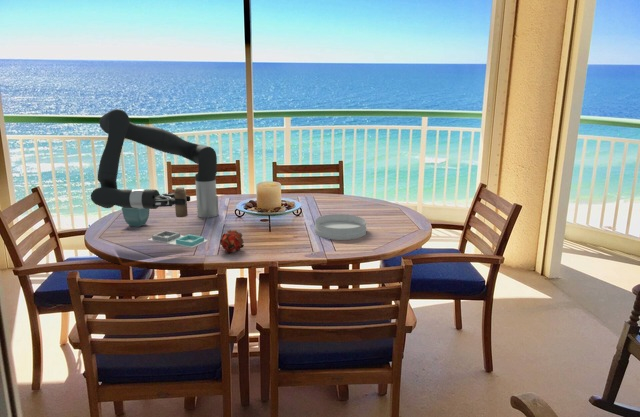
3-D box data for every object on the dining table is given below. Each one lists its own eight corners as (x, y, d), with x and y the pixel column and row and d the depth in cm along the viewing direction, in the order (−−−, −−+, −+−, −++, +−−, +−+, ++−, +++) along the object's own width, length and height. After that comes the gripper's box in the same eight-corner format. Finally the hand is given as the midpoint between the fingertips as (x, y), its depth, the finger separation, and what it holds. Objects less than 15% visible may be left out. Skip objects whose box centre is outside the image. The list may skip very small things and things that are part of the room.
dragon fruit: (235, 248, 192) (233, 264, 181) (217, 237, 190) (214, 252, 179) (247, 232, 190) (246, 247, 179) (229, 221, 187) (226, 235, 176)
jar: (185, 213, 193) (184, 186, 190) (189, 216, 189) (187, 188, 186) (174, 215, 191) (172, 187, 188) (177, 217, 187) (175, 189, 184)
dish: (371, 227, 216) (372, 216, 215) (358, 243, 196) (359, 231, 195) (324, 222, 223) (324, 212, 222) (307, 236, 203) (307, 225, 202)
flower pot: (141, 228, 212) (139, 208, 210) (122, 227, 214) (120, 207, 211) (151, 223, 220) (150, 203, 218) (134, 221, 222) (132, 202, 220)
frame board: (148, 242, 194) (147, 236, 194) (165, 235, 203) (165, 229, 202) (192, 250, 185) (191, 243, 185) (208, 242, 194) (208, 236, 193)
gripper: (135, 193, 181) (180, 195, 180) (151, 185, 195) (193, 186, 194) (137, 213, 183) (181, 214, 182) (153, 203, 197) (194, 205, 196)
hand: (187, 200), depth 188 cm, fingers closed on jar, 4 cm apart
